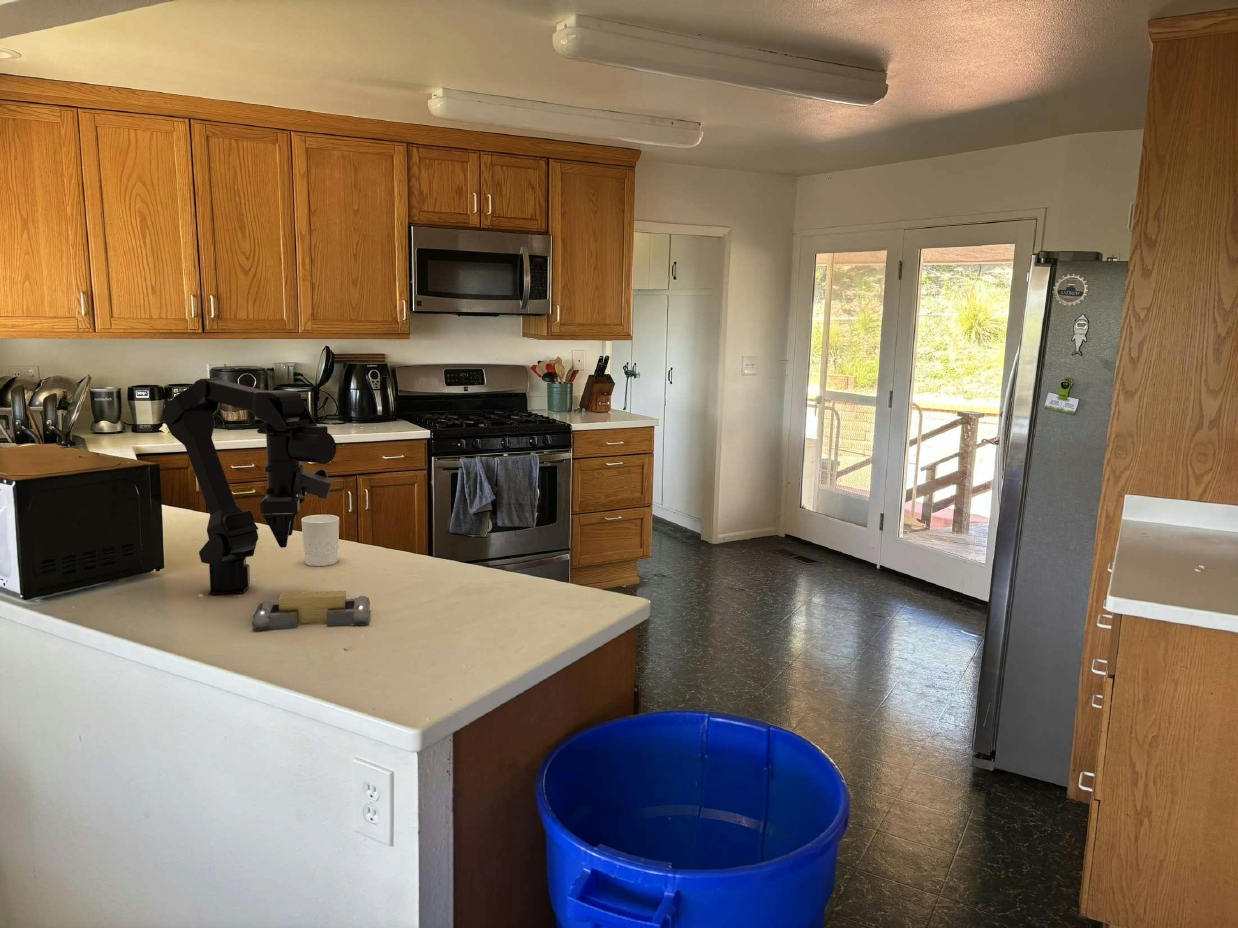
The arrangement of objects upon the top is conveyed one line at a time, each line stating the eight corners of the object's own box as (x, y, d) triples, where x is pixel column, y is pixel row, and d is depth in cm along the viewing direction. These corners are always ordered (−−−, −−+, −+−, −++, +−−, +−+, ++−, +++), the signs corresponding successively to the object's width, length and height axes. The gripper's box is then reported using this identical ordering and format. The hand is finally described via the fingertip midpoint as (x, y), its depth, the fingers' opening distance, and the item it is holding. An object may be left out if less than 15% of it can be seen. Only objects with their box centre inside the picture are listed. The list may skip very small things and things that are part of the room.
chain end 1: (252, 631, 149) (251, 615, 148) (259, 615, 157) (258, 600, 156) (296, 628, 151) (295, 613, 150) (301, 613, 159) (300, 598, 158)
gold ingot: (279, 625, 152) (278, 598, 152) (282, 619, 156) (281, 592, 155) (345, 623, 155) (344, 596, 154) (346, 616, 158) (346, 590, 157)
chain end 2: (370, 609, 162) (369, 595, 161) (368, 624, 154) (368, 609, 153) (329, 611, 160) (329, 597, 159) (326, 627, 152) (326, 612, 151)
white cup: (301, 559, 194) (299, 515, 192) (337, 556, 197) (336, 513, 196) (304, 568, 187) (303, 523, 185) (342, 565, 190) (341, 521, 189)
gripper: (325, 466, 153) (327, 552, 156) (332, 451, 171) (334, 528, 173) (258, 467, 150) (261, 554, 153) (272, 451, 168) (274, 530, 171)
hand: (286, 541), depth 162 cm, fingers open, 9 cm apart
